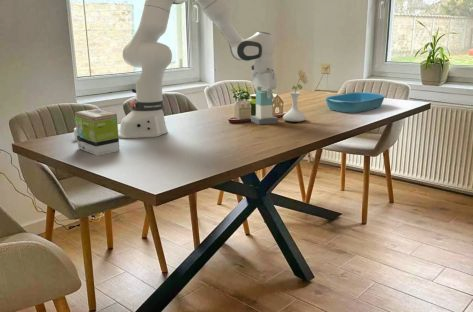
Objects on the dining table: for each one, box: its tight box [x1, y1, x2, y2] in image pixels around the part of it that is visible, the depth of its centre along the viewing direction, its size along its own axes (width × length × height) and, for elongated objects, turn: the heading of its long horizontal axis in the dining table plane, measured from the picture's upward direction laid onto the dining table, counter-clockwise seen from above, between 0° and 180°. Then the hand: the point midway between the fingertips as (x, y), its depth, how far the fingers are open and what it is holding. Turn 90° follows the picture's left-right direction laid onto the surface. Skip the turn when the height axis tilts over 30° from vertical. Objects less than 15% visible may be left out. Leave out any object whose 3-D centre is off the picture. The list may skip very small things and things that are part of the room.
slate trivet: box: [249, 114, 279, 125], centre depth 234 cm, size 10×10×2 cm
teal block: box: [255, 90, 274, 106], centre depth 231 cm, size 6×6×6 cm
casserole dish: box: [325, 91, 386, 114], centre depth 267 cm, size 37×22×7 cm, turn 131°
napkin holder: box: [73, 127, 77, 141], centre depth 206 cm, size 15×11×6 cm
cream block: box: [255, 103, 274, 118], centre depth 233 cm, size 6×6×6 cm
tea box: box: [74, 108, 121, 157], centre depth 183 cm, size 15×10×15 cm, turn 45°
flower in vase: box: [282, 68, 309, 123], centre depth 233 cm, size 13×11×25 cm
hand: (264, 96), depth 231 cm, fingers open, 8 cm apart
